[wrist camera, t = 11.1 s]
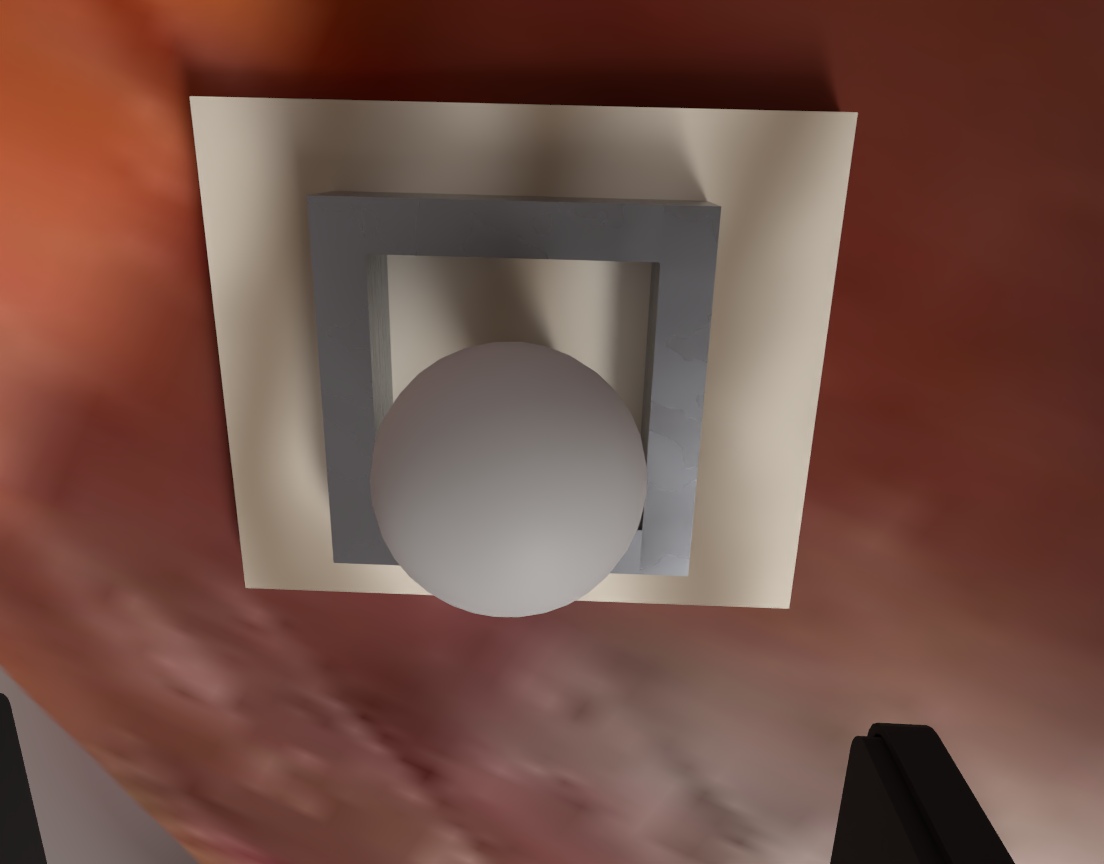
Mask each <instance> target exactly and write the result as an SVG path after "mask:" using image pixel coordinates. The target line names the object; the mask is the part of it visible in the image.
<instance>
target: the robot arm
mask: <svg viewBox="0 0 1104 864" xmlns="http://www.w3.org/2000/svg"><path fill="white" fill-rule="evenodd" d="M0 864H47V862H46V857H45V853H44V848H43V844H42V840H41V835H40V831H39V827H38V822H37V818H36V814H35V809H34V805H33V801H32V797H31V792H30V788H29V783H28V779H27V775H26V770H25V766H24V762H23V757H22V753H21V748H20V744H19V740H18V735H17V731H16V727H15V723H14V718H13V714H12V709H11V706H10V702H9V700H8V698H7V697H6V696H5V695H4V694H2V693H0ZM830 864H1015V863H1014V861H1013V860H1012V858H1011V856H1010V855H1009V853H1008V851H1007V850H1006V848H1005V846H1004V845H1003V843H1002V841H1001V840H1000V838H999V836H998V835H997V833H996V831H995V830H994V828H993V826H992V825H991V823H990V821H989V820H988V818H987V816H986V815H985V813H984V811H983V810H982V808H981V806H980V805H979V803H978V801H977V799H976V798H975V796H974V794H973V793H972V791H971V789H970V788H969V786H968V784H967V783H966V781H965V779H964V778H963V776H962V774H961V773H960V771H959V769H958V768H957V766H956V764H955V763H954V761H953V759H952V758H951V756H950V754H949V753H948V751H947V749H946V748H945V746H944V744H943V743H942V741H941V739H940V738H939V736H938V734H937V733H936V732H935V731H934V729H933V728H931V727H929V726H927V725H911V724H891V723H875V724H872V726H871V728H870V729H869V732H868V736H856V737H855V738H854V739H853V741H852V744H851V748H850V754H849V760H848V766H847V771H846V777H845V783H844V788H843V794H842V800H841V805H840V811H839V817H838V822H837V828H836V834H835V839H834V845H833V851H832V856H831V862H830Z"/></svg>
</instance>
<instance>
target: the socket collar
mask: <svg viewBox="0 0 1104 864" xmlns="http://www.w3.org/2000/svg"><path fill="white" fill-rule="evenodd" d="M307 205H308V218H309V232H310V246H311V260H312V273H313V287H314V301H315V315H316V328H317V342H318V356H319V370H320V383H321V397H322V411H323V425H324V438H325V452H326V466H327V480H328V493H329V507H330V521H331V535H332V548H333V562H334V563H348V564H374V565H399V564H398V562H397V561H396V560H395V559H394V557H393V555H392V554H391V552H390V550H389V548H388V546H387V545H386V543H385V541H384V539H383V537H382V534H381V531H380V528H379V525H378V522H377V519H376V515H375V512H374V509H373V505H372V495H371V485H370V477H371V468H372V459H373V451H374V445H375V442H376V439H377V436H378V433H379V430H380V427H381V424H382V421H383V420H384V418H385V416H386V415H387V413H388V411H389V410H390V408H391V406H392V405H393V388H392V364H391V340H390V317H389V293H388V270H387V255H415V256H450V257H485V258H520V259H555V260H590V261H624V262H652V267H651V283H650V299H649V314H648V330H647V346H646V361H645V377H644V392H643V408H642V424H641V441H642V446H643V451H644V456H645V461H646V466H647V495H646V499H645V503H644V507H643V512H642V516H641V520H640V523H639V526H638V529H637V531H636V533H635V535H634V537H633V540H632V542H631V544H630V546H629V548H628V550H627V551H626V553H625V554H624V555H623V557H622V558H621V559H620V561H619V562H618V563H617V565H616V566H615V567H614V568H613V570H612V571H611V572H610V573H615V574H642V575H669V576H688V572H689V561H690V550H691V539H692V527H693V516H694V505H695V494H696V483H697V472H698V461H699V450H700V439H701V427H702V416H703V405H704V394H705V383H706V372H707V361H708V350H709V339H710V328H711V316H712V305H713V294H714V283H715V272H716V261H717V250H718V239H719V228H720V216H721V206H719V205H716V204H714V203H711V202H709V201H693V200H656V199H619V198H582V197H545V196H508V195H471V194H434V193H397V192H360V191H329V192H323V193H317V194H311V195H307Z"/></svg>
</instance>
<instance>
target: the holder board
mask: <svg viewBox="0 0 1104 864" xmlns="http://www.w3.org/2000/svg"><path fill="white" fill-rule="evenodd" d="M189 97H190V106H191V114H192V123H193V132H194V141H195V149H196V158H197V167H198V176H199V184H200V193H201V202H202V211H203V219H204V228H205V237H206V246H207V254H208V263H209V272H210V281H211V289H212V298H213V307H214V316H215V324H216V333H217V342H218V351H219V359H220V368H221V377H222V386H223V394H224V403H225V412H226V421H227V429H228V438H229V447H230V456H231V464H232V473H233V482H234V491H235V499H236V508H237V517H238V526H239V534H240V543H241V552H242V561H243V569H244V578H245V587H246V588H263V589H289V590H316V591H342V592H368V593H394V594H421V595H432V594H431V593H429V592H427V591H426V590H425V589H424V588H423V587H421V586H420V585H419V584H418V583H416V582H415V581H414V580H413V579H412V578H410V577H409V576H408V574H407V573H406V572H405V571H404V570H403V568H402V567H401V566H400V565H374V564H348V563H334V562H333V548H332V535H331V521H330V507H329V493H328V480H327V466H326V452H325V438H324V425H323V411H322V397H321V383H320V370H319V356H318V342H317V328H316V315H315V301H314V287H313V273H312V260H311V246H310V232H309V218H308V205H307V195H311V194H317V193H323V192H329V191H360V192H397V193H434V194H471V195H508V196H545V197H582V198H619V199H656V200H693V201H709V202H711V203H714V204H716V205H719V206H721V216H720V228H719V239H718V250H717V261H716V272H715V283H714V294H713V305H712V316H711V328H710V339H709V350H708V361H707V372H706V383H705V394H704V405H703V416H702V427H701V439H700V450H699V461H698V472H697V483H696V494H695V505H694V516H693V527H692V539H691V550H690V561H689V572H688V576H669V575H642V574H615V573H609V575H608V576H607V577H606V578H605V579H604V580H602V581H601V582H600V583H599V584H598V585H597V586H596V587H594V588H593V589H592V590H591V591H590V592H589V593H587V594H585V595H584V596H582V597H580V598H579V599H577V600H578V601H604V602H630V603H657V604H683V605H709V606H735V607H762V608H788V609H789V605H790V598H791V591H792V584H793V576H794V569H795V562H796V555H797V547H798V540H799V533H800V526H801V519H802V511H803V504H804V497H805V490H806V482H807V475H808V468H809V461H810V454H811V446H812V439H813V432H814V425H815V418H816V410H817V403H818V396H819V389H820V381H821V374H822V367H823V360H824V353H825V345H826V338H827V331H828V324H829V316H830V309H831V302H832V295H833V288H834V280H835V273H836V266H837V259H838V252H839V244H840V237H841V230H842V223H843V215H844V208H845V201H846V194H847V187H848V179H849V172H850V165H851V158H852V150H853V143H854V136H855V129H856V122H857V114H858V112H819V111H778V110H738V109H697V108H656V107H615V106H574V105H533V104H492V103H451V102H410V101H369V100H328V99H287V98H246V97H205V96H189ZM651 267H652V262H624V261H590V260H555V259H520V258H485V257H450V256H415V255H387V270H388V293H389V317H390V340H391V364H392V388H393V403H394V402H395V400H396V398H397V397H398V396H399V394H400V393H401V392H402V391H403V390H404V389H405V388H406V387H407V385H408V384H409V383H410V382H411V381H412V380H413V379H414V378H415V377H416V376H417V375H418V374H419V373H420V372H422V371H423V370H425V369H426V368H428V367H429V366H430V365H432V364H433V363H435V362H436V361H438V360H439V359H441V358H443V357H445V356H448V355H450V354H452V353H455V352H457V351H459V350H462V349H464V348H468V347H473V346H478V345H482V344H487V343H492V342H526V343H531V344H536V345H542V346H547V347H549V348H552V349H555V350H557V351H560V352H562V353H565V354H567V355H570V356H572V357H573V358H575V359H576V360H578V361H579V362H581V363H583V364H584V365H586V366H587V367H589V368H590V369H592V370H594V371H595V372H597V373H598V374H599V375H600V376H601V377H602V378H603V379H604V380H605V381H606V382H607V383H608V384H609V385H610V386H611V387H612V388H613V389H614V390H615V391H616V392H617V394H618V395H619V396H620V398H621V399H622V401H623V402H624V404H625V405H626V407H627V408H628V409H629V411H630V412H631V415H632V417H633V419H634V422H635V424H636V426H637V429H638V431H639V434H640V436H641V424H642V408H643V392H644V377H645V361H646V346H647V330H648V314H649V299H650V283H651Z"/></svg>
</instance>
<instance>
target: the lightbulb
mask: <svg viewBox="0 0 1104 864" xmlns="http://www.w3.org/2000/svg"><path fill="white" fill-rule="evenodd" d="M370 485H371V495H372V505H373V509H374V512H375V515H376V519H377V522H378V525H379V528H380V531H381V534H382V537H383V539H384V541H385V543H386V545H387V546H388V548H389V550H390V552H391V554H392V555H393V557H394V559H395V560H396V561H397V562H398V564H399V565H400V566H401V567H402V568H403V570H404V571H405V572H406V573H407V574H408V576H409V577H410V578H412V579H413V580H414V581H415V582H416V583H418V584H419V585H420V586H421V587H423V588H424V589H425V590H426V591H427V592H429V593H431V594H432V595H434V596H436V597H438V598H439V599H441V600H443V601H445V602H446V603H448V604H450V605H452V606H455V607H458V608H461V609H463V610H466V611H469V612H472V613H476V614H482V615H487V616H493V617H523V616H529V615H535V614H541V613H546V612H549V611H552V610H554V609H557V608H560V607H563V606H566V605H568V604H570V603H572V602H573V601H575V600H577V599H579V598H580V597H582V596H584V595H585V594H587V593H589V592H590V591H591V590H592V589H593V588H594V587H596V586H597V585H598V584H599V583H600V582H601V581H602V580H604V579H605V578H606V577H607V576H608V575H609V573H610V572H611V571H612V570H613V568H614V567H615V566H616V565H617V563H618V562H619V561H620V559H621V558H622V557H623V555H624V554H625V553H626V551H627V550H628V548H629V546H630V544H631V542H632V540H633V537H634V535H635V533H636V531H637V529H638V526H639V523H640V520H641V516H642V512H643V507H644V503H645V499H646V495H647V466H646V461H645V456H644V451H643V446H642V441H641V436H640V434H639V431H638V429H637V426H636V424H635V422H634V419H633V417H632V415H631V412H630V411H629V409H628V408H627V407H626V405H625V404H624V402H623V401H622V399H621V398H620V396H619V395H618V394H617V392H616V391H615V390H614V389H613V388H612V387H611V386H610V385H609V384H608V383H607V382H606V381H605V380H604V379H603V378H602V377H601V376H600V375H599V374H598V373H597V372H595V371H594V370H592V369H590V368H589V367H587V366H586V365H584V364H583V363H581V362H579V361H578V360H576V359H575V358H573V357H572V356H570V355H567V354H565V353H562V352H560V351H557V350H555V349H552V348H549V347H547V346H542V345H536V344H531V343H526V342H492V343H487V344H482V345H478V346H473V347H468V348H464V349H462V350H459V351H457V352H455V353H452V354H450V355H448V356H445V357H443V358H441V359H439V360H438V361H436V362H435V363H433V364H432V365H430V366H429V367H428V368H426V369H425V370H423V371H422V372H420V373H419V374H418V375H417V376H416V377H415V378H414V379H413V380H412V381H411V382H410V383H409V384H408V385H407V387H406V388H405V389H404V390H403V391H402V392H401V393H400V394H399V396H398V397H397V398H396V400H395V402H394V403H393V405H392V406H391V408H390V410H389V411H388V413H387V415H386V416H385V418H384V420H383V421H382V424H381V427H380V430H379V433H378V436H377V439H376V442H375V445H374V451H373V459H372V468H371V477H370Z"/></svg>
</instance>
